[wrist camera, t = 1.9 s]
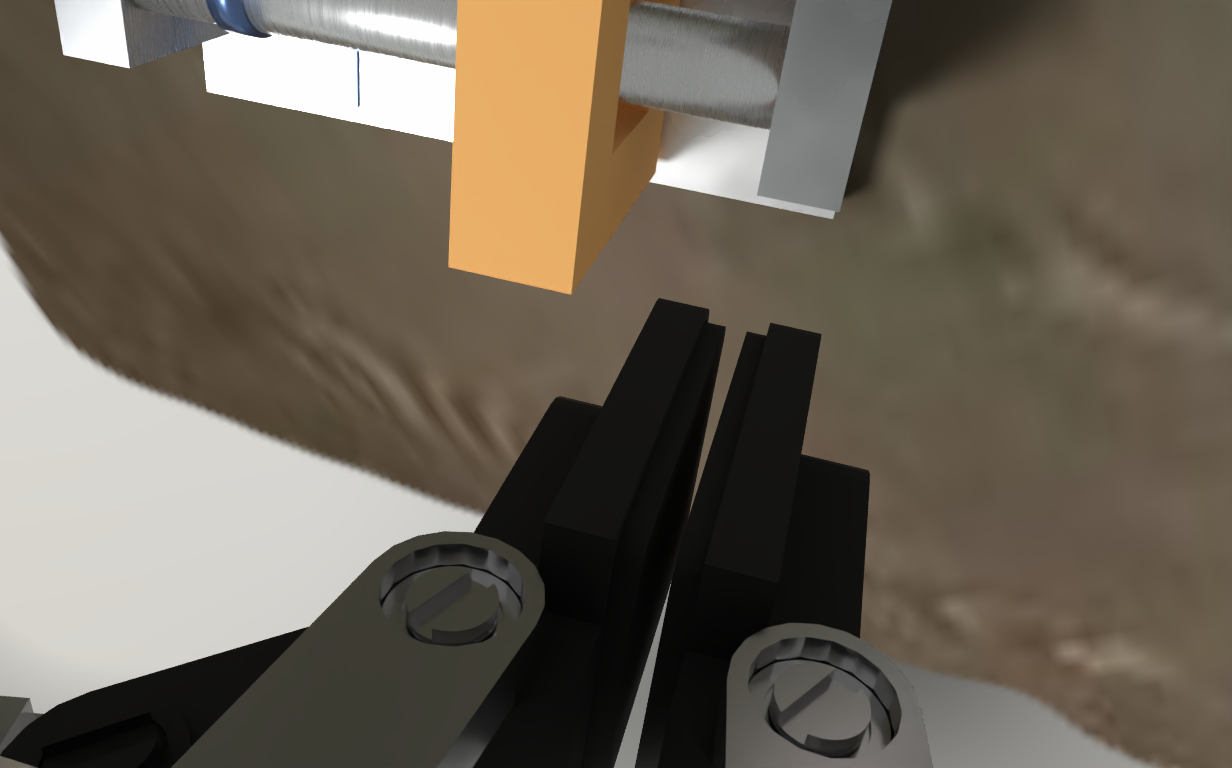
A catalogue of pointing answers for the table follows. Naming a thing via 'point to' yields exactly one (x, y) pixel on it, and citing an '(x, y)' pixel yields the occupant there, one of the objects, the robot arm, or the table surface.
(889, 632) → the table surface
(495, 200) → the collar
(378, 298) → the table surface
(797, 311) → the table surface
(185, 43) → the pipe stand
